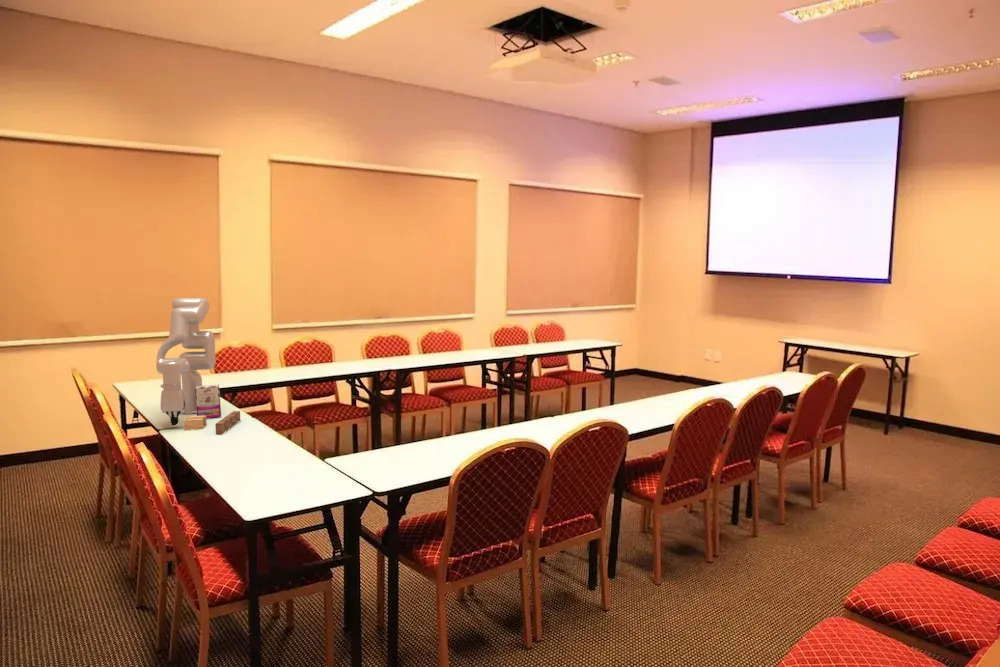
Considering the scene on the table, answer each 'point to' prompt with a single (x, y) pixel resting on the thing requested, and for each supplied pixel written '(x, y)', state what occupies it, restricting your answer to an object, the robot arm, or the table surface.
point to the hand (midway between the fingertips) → (174, 424)
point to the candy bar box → (208, 401)
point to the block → (195, 422)
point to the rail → (227, 422)
